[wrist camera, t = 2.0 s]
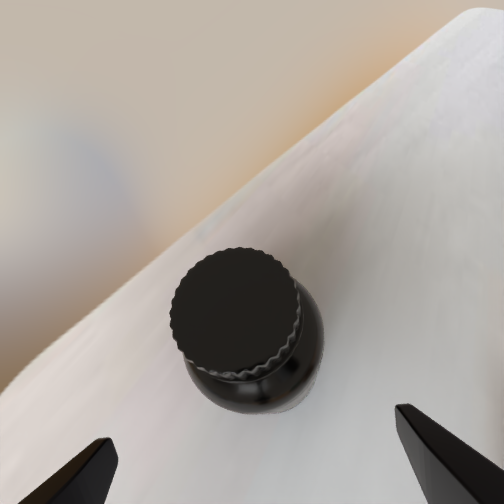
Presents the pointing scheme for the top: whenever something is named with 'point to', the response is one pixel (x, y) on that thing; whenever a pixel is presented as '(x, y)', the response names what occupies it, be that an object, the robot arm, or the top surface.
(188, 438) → the top surface
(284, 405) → the supplement bottle
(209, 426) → the top surface
